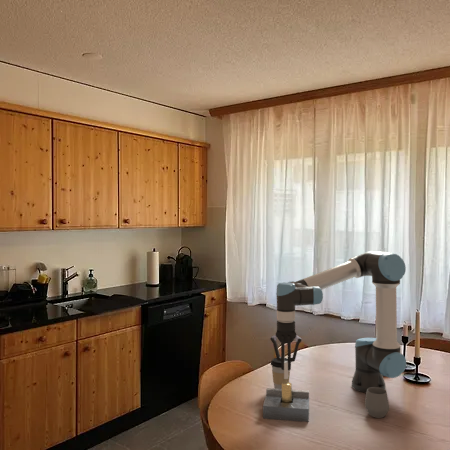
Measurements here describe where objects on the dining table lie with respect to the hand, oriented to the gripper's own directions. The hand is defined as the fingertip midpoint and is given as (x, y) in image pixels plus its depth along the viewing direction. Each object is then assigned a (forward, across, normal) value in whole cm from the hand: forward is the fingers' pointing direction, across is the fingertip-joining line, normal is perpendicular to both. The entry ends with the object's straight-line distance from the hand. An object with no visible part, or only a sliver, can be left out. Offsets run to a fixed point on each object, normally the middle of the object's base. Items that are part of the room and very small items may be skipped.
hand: (286, 377), depth 184 cm
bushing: (+15, 0, 0) cm, 15 cm away
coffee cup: (+15, +4, -21) cm, 26 cm away
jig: (+15, 0, 0) cm, 15 cm away
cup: (+15, -36, -4) cm, 39 cm away
